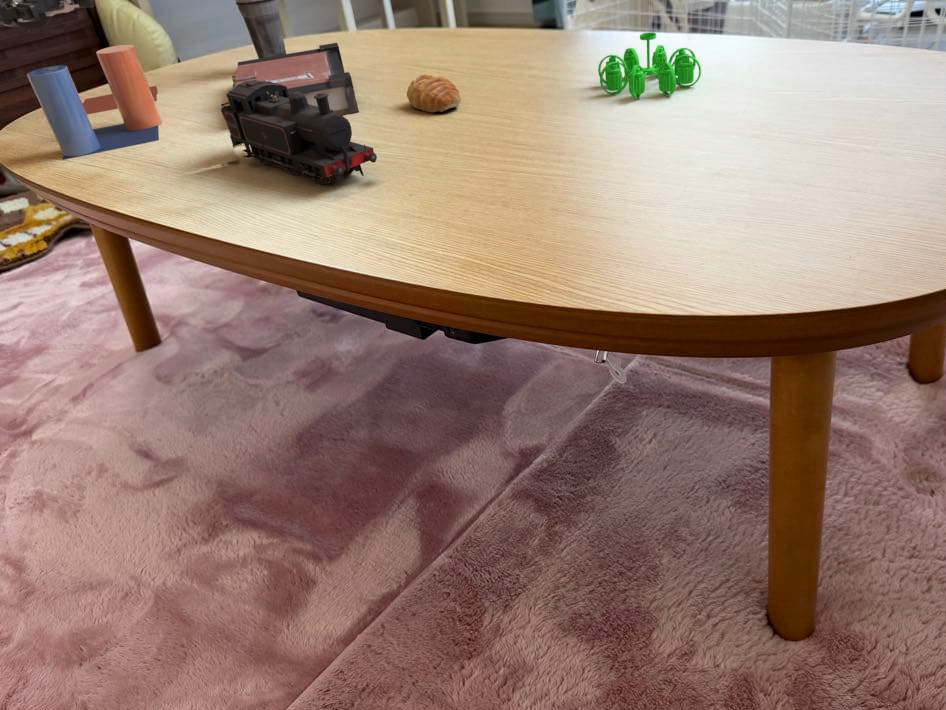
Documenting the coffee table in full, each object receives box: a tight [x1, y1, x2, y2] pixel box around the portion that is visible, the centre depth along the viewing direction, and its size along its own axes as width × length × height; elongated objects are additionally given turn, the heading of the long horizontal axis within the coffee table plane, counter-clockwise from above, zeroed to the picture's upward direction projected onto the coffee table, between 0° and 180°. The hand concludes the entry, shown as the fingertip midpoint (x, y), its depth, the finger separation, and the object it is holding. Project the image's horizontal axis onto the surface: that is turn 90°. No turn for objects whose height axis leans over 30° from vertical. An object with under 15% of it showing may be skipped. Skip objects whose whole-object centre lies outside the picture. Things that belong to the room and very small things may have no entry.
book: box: [231, 42, 360, 116], centre depth 127 cm, size 26×18×5 cm
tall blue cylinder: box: [26, 65, 100, 158], centre depth 112 cm, size 5×5×11 cm
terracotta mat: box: [83, 85, 158, 115], centre depth 138 cm, size 12×12×1 cm
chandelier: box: [597, 32, 702, 99], centre depth 113 cm, size 15×15×7 cm
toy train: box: [220, 80, 378, 187], centre depth 98 cm, size 8×25×10 cm, turn 45°
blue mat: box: [62, 122, 160, 161], centre depth 120 cm, size 13×14×1 cm
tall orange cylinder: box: [95, 44, 163, 131], centre depth 120 cm, size 5×5×11 cm
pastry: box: [406, 73, 462, 114], centre depth 116 cm, size 9×7×4 cm
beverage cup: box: [235, 0, 287, 59], centre depth 142 cm, size 7×7×20 cm
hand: (63, 5), depth 119 cm, fingers open, 8 cm apart
